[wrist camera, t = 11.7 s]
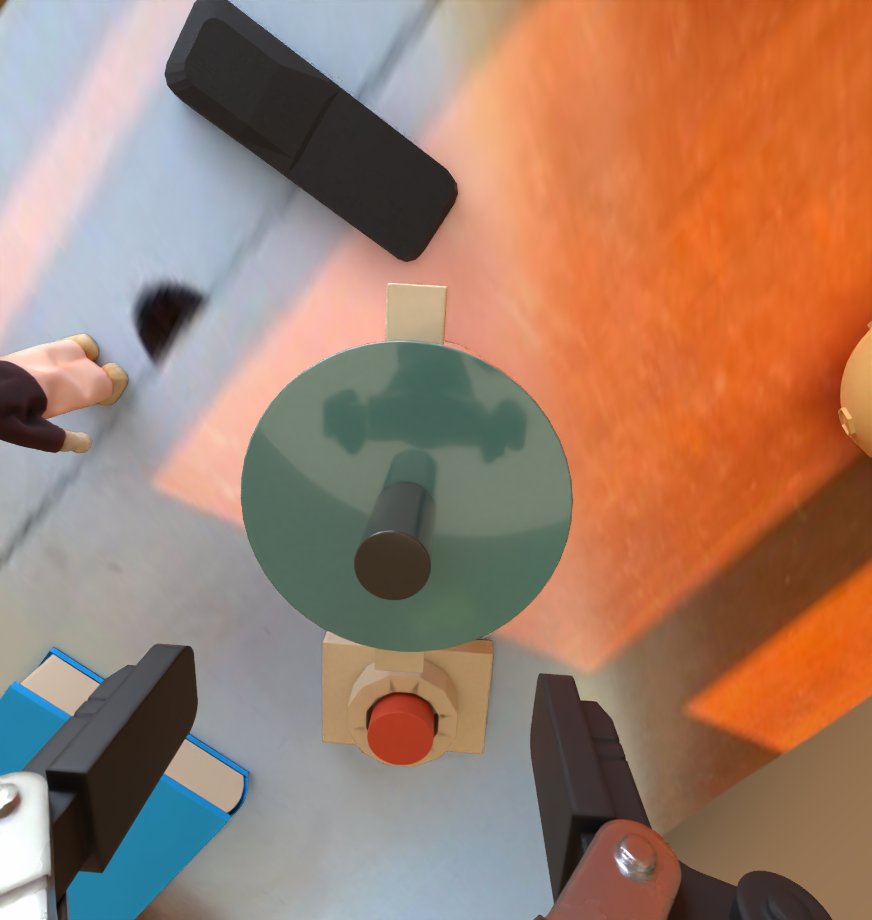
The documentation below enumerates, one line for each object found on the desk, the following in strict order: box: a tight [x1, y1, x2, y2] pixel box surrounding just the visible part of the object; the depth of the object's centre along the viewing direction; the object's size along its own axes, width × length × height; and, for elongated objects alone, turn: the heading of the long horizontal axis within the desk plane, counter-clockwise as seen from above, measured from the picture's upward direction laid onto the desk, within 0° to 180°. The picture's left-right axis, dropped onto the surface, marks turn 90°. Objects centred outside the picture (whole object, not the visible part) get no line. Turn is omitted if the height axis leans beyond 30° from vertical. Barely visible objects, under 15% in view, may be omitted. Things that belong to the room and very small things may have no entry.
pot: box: [375, 283, 486, 673], centre depth 28 cm, size 13×18×10 cm
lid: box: [241, 340, 573, 652], centre depth 21 cm, size 14×14×6 cm
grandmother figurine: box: [0, 334, 128, 453], centre depth 26 cm, size 8×4×13 cm, turn 49°
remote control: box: [165, 0, 458, 262], centre depth 27 cm, size 5×2×15 cm
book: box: [0, 648, 249, 920], centre depth 40 cm, size 17×4×25 cm
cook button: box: [367, 692, 434, 765], centre depth 34 cm, size 4×4×2 cm
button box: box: [322, 631, 493, 767], centre depth 36 cm, size 11×8×4 cm
